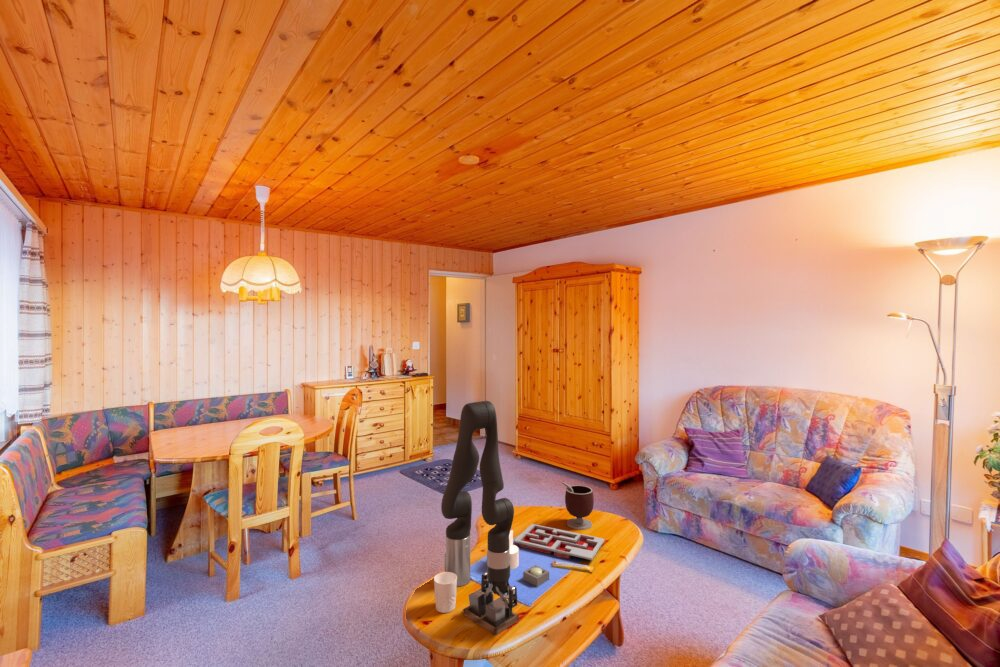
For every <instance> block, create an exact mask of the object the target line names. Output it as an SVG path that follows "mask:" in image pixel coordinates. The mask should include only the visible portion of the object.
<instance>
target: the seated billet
mask: <svg viewBox="0 0 1000 667" xmlns="http://www.w3.org/2000/svg"><path fill="white" fill-rule="evenodd" d="M492 595H493V601H494V600H495V598H494V593H492ZM468 601H469V606H470V611H471V612H472V613H473V614H475V615H476V616H478V617H479V618H480V617H482V616H484V615H485V614H486V596H485V593H484V592H482V591H481V587H480V588H479V589H477V590H475V591H473V592H471V593H470V594H468Z"/></svg>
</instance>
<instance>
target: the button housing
mask: <svg viewBox="0 0 1000 667" xmlns="http://www.w3.org/2000/svg"><path fill="white" fill-rule="evenodd" d="M534 567H537V568H540V569H542V574H541V575H539V576H535V575H533V574H531V573H530V570H531V569H532V568H534ZM522 576H523V577H522V578H523V580H522V581H525V582H527V583H529V584H531V585H532V586H535V587H536V588H538V587H540V586H541V585H543V584H545V583H546V582H548V581H549V580H550V571H549V570H547V569H544V567H543V568H542V567H541V566H538V565H533V566H531V567H530V568H528V569H526V570H523V572H522Z"/></svg>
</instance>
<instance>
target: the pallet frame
mask: <svg viewBox="0 0 1000 667" xmlns="http://www.w3.org/2000/svg"><path fill="white" fill-rule="evenodd" d="M462 612H463V613H462V614H463V616H465V617H467V618H469V619H470V620H471V621H473V622H475V623H476V624H477V625H479V626H481V627H482V628H484V629H485V630H486V631H488V632H489V633H491V634H492V635H494V636H497V635H499V634H500V633H502V632H503V631H505V630H507V629H508V628H509V627H511V626H512V625H514V624H515V623H517V622H518V621H519V620H520V617H519V616H520V614H517V613H515V612H514V611H512V617H511V618H510V619H509V620H507V621H506V622H504V623H503V624H501V625H500V626H498V627H496V628H495V627H493V626H492V625H490V624H489V623H487V622H486V614H484V615H483V616H481V617H478V616H476V615H475V614H473V613H472V612H471V611H470V605H468V606H466V607H464V608H463V610H462Z"/></svg>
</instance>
